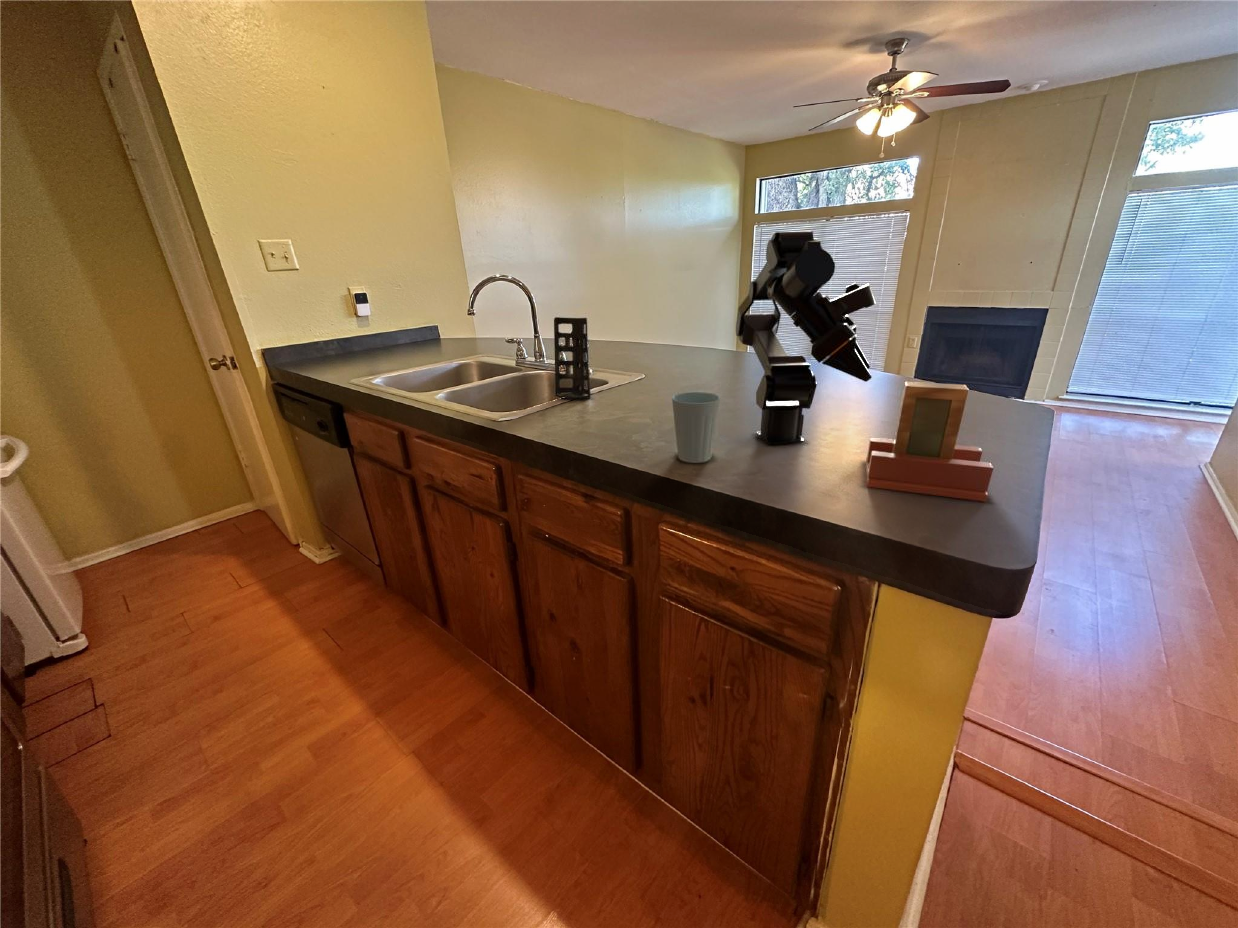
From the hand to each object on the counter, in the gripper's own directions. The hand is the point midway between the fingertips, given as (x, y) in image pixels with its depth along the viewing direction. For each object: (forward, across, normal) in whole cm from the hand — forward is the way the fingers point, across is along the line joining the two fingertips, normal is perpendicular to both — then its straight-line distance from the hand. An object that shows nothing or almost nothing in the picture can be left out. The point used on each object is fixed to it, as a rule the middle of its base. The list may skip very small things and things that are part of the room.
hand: (868, 374), depth 79 cm
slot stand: (+15, -13, +3) cm, 20 cm away
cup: (-9, -14, +27) cm, 32 cm away
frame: (+14, -13, +3) cm, 19 cm away
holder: (-38, +18, +56) cm, 71 cm away
